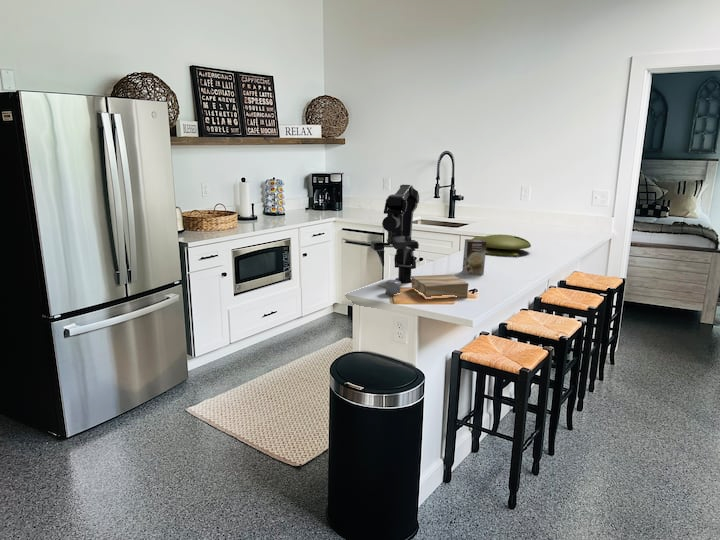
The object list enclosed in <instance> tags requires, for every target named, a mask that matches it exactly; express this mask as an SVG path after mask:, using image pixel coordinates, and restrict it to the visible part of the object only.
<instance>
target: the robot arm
mask: <svg viewBox="0 0 720 540" xmlns="http://www.w3.org/2000/svg"><path fill="white" fill-rule="evenodd" d="M419 194H420V193H419V191H418V190H416V189H415V188H414V187H413V185H411V184H400V186H399V188H398V190H397V191H396V192H395V193H394V194H390V195H388V196H387V198H386V199H385V203H384V204H385V205H384V209H383V214H384V215H387V216H386V217H384V218H383V219H382V221H381V222H382V223H381V225H382V228H383V229H384V231H386V233H387V239H386V242H383V241H382V240H372V241H371V242H370V248H371V249H372V250H373V251H375V252H376V254H377V256H378V257H379V261H380V263H381V266H382V267H385V250H384V248H394V250H396V252H395V254H394V257H393V259H394V268H395V269H396V268H397V269H398V272H397V273H398V274H397V276H398V277H396V278H395V280H398V281H400V282H402V283H410V282H409V281H412V278H411V276H412V270H415V269H416V268H417V262H416V261H417V260H416V258H415V255H414V254H415V253H414V252H416V249H417V250H418V249H420V248H419V246H420V244H419V241H417V240H415V239H412V230H413V219H414V212H415V211H416V210H417V208H418V204H419V203H420V195H419Z"/></svg>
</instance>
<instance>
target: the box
mask: <svg viewBox="0 0 720 540" xmlns="http://www.w3.org/2000/svg"><path fill="white" fill-rule="evenodd" d="M411 279H412V282H411V287H412V288H414V289H416V290H418V291H419V292H421V293H423V294H424V295H425V296H426V297H431V296H442V295H455V296H457V298H456V299H460V298H468V291H469V285H461V286H442V287H425V286H423V285H422V284H420V283H419V282H417V281H416V280H414V279H413V278H411Z"/></svg>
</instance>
